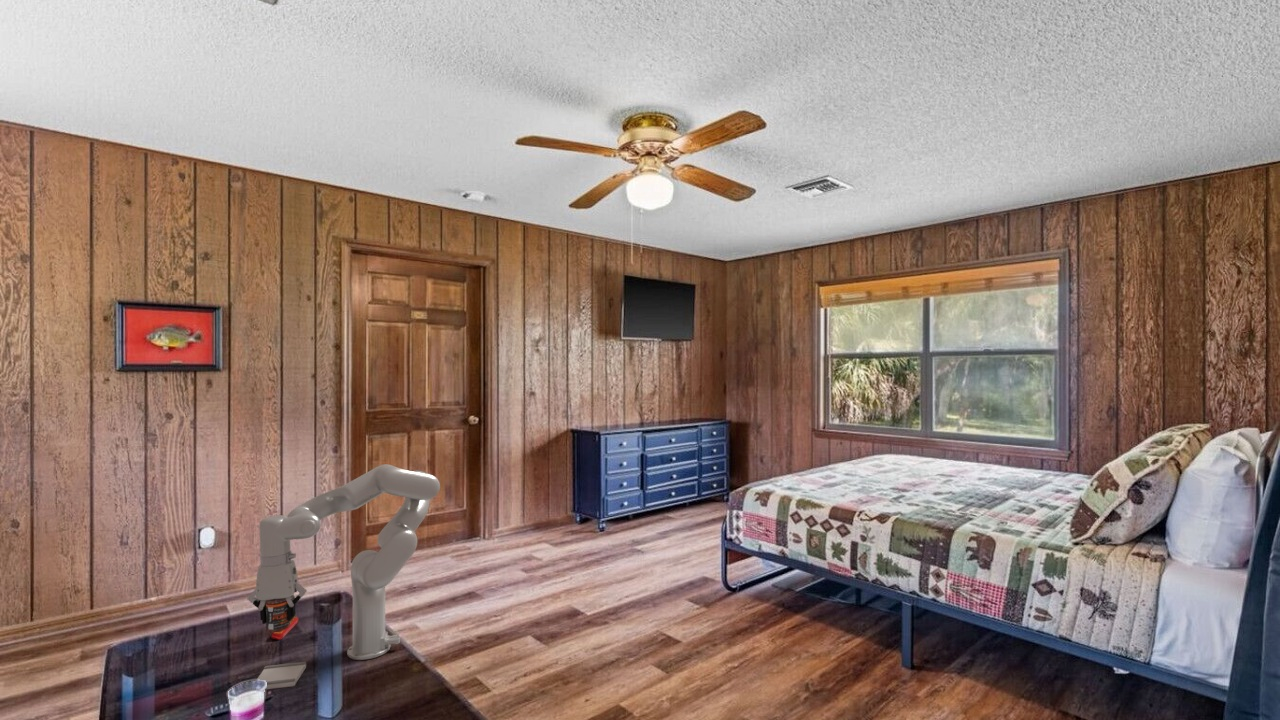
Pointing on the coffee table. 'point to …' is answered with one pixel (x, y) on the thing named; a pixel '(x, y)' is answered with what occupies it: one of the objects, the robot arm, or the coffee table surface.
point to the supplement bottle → (276, 615)
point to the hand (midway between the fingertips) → (278, 619)
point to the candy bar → (282, 633)
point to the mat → (282, 674)
